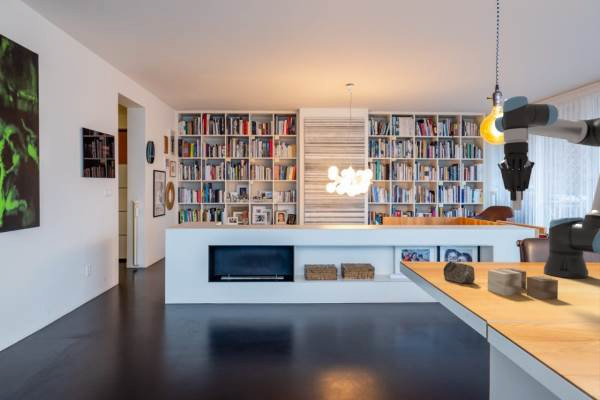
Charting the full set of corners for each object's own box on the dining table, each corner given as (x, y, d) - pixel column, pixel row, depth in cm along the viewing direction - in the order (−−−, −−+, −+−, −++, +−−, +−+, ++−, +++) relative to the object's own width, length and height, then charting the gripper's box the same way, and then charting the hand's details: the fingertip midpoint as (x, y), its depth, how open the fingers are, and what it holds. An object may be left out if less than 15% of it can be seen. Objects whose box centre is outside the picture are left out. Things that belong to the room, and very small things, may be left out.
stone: (467, 284, 143) (468, 265, 143) (439, 279, 153) (440, 260, 153) (479, 283, 147) (480, 264, 147) (451, 277, 157) (451, 259, 157)
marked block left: (543, 294, 130) (543, 275, 130) (557, 299, 124) (557, 279, 124) (526, 295, 130) (526, 276, 129) (540, 300, 124) (540, 280, 123)
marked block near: (514, 284, 144) (514, 267, 144) (526, 288, 138) (526, 270, 138) (498, 285, 143) (499, 268, 143) (510, 289, 137) (510, 271, 137)
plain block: (504, 289, 137) (504, 269, 137) (521, 294, 131) (521, 273, 130) (487, 290, 135) (487, 270, 135) (504, 296, 128) (504, 274, 128)
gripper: (524, 143, 144) (525, 209, 145) (491, 143, 142) (493, 210, 143) (540, 140, 137) (541, 209, 138) (506, 141, 135) (507, 211, 135)
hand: (516, 210), depth 140 cm, fingers closed
